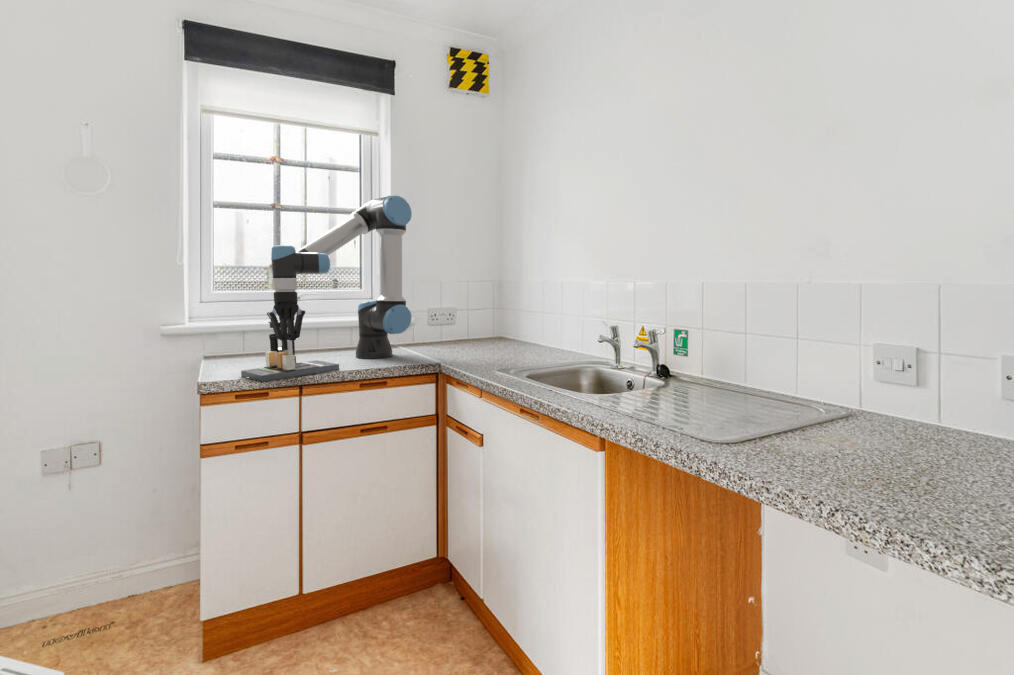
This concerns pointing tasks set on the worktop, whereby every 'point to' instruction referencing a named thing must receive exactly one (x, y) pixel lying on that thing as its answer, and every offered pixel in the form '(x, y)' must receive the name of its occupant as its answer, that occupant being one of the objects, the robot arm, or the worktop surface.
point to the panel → (289, 374)
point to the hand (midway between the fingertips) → (289, 358)
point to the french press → (276, 342)
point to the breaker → (280, 359)
